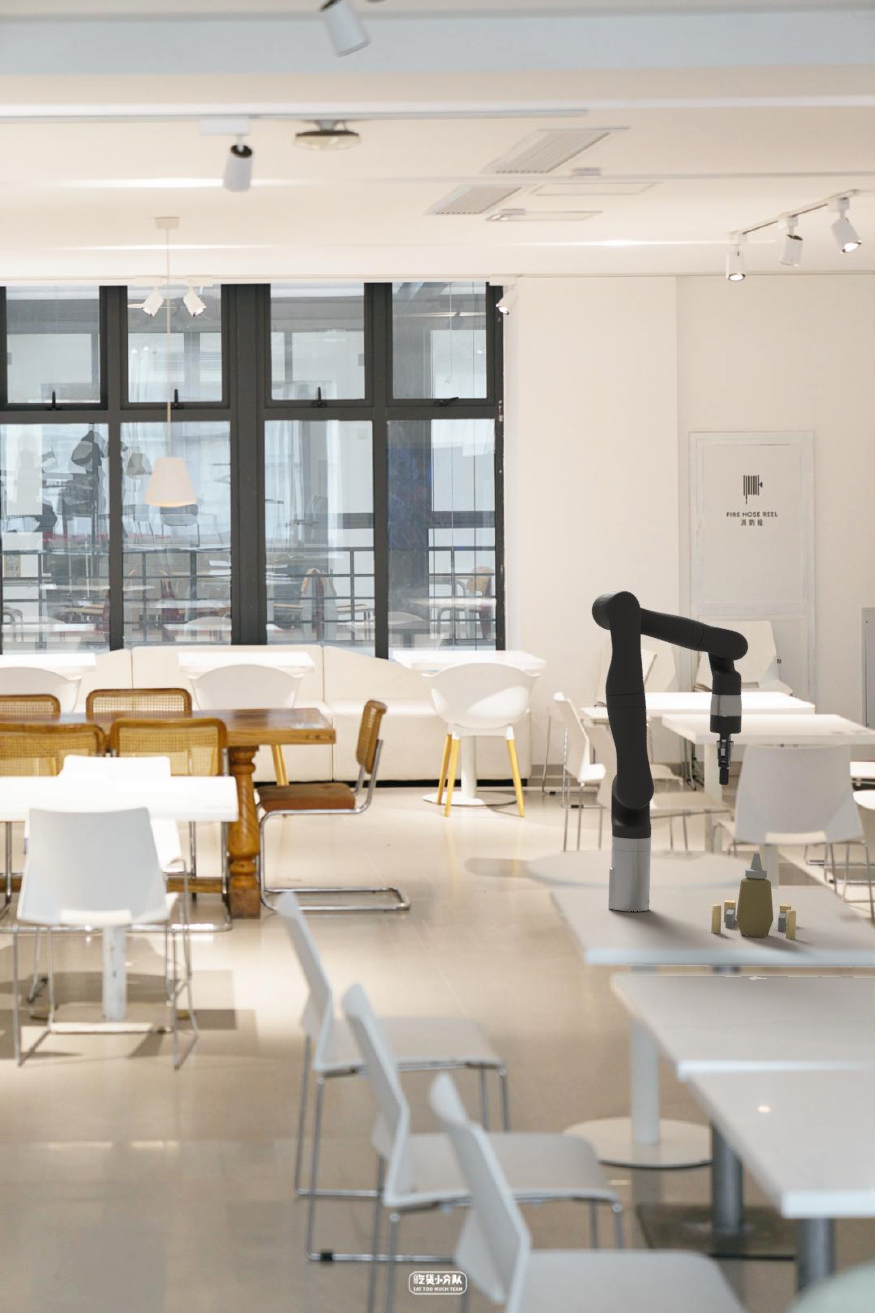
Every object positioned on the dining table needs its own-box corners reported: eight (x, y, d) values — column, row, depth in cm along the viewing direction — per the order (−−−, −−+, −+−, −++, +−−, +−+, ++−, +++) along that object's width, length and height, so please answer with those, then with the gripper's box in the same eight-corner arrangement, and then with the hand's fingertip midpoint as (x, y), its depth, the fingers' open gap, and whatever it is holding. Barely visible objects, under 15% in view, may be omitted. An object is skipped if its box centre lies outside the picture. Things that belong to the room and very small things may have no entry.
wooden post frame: (711, 933, 335) (711, 906, 335) (717, 918, 353) (718, 892, 353) (795, 939, 331) (795, 911, 331) (797, 924, 348) (798, 898, 348)
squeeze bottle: (768, 940, 329) (770, 857, 329) (731, 936, 333) (733, 853, 332) (777, 934, 336) (779, 852, 336) (740, 930, 340) (743, 849, 339)
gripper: (712, 711, 379) (710, 781, 379) (707, 714, 366) (705, 786, 366) (743, 712, 377) (741, 782, 377) (739, 715, 364) (737, 788, 364)
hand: (723, 784), depth 372 cm, fingers closed
